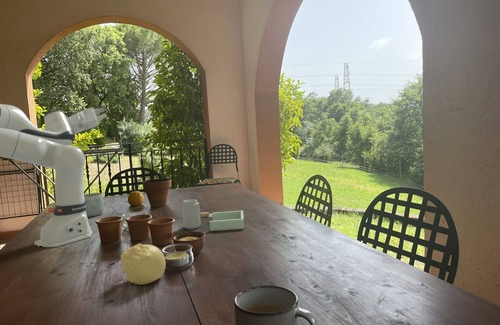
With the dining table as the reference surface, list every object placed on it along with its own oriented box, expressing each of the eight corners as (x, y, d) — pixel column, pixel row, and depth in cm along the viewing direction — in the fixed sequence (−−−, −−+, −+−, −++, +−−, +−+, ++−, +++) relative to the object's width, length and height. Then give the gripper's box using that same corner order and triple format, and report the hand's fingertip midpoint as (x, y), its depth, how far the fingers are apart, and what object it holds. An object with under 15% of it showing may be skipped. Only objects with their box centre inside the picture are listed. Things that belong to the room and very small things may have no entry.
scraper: (183, 220, 185) (182, 215, 185) (185, 216, 192) (185, 212, 192) (214, 218, 185) (214, 213, 185) (215, 214, 192) (215, 210, 192)
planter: (109, 212, 213) (107, 192, 212) (98, 217, 201) (95, 196, 200) (87, 212, 214) (85, 193, 213) (75, 218, 202) (72, 197, 201)
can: (197, 229, 166) (195, 201, 164) (180, 229, 167) (178, 202, 166) (203, 224, 173) (201, 198, 172) (187, 225, 175) (184, 198, 173)
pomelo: (117, 282, 114) (113, 246, 113) (153, 269, 123) (150, 235, 121) (136, 292, 106) (132, 254, 105) (174, 278, 114) (170, 242, 113)
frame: (210, 230, 162) (209, 221, 162) (212, 221, 178) (212, 212, 178) (244, 228, 163) (243, 219, 162) (243, 219, 179) (243, 210, 178)
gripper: (76, 124, 189) (104, 112, 192) (74, 111, 205) (99, 101, 209) (83, 135, 192) (110, 123, 195) (80, 121, 209) (105, 111, 212)
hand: (104, 112), depth 202 cm, fingers open, 8 cm apart
